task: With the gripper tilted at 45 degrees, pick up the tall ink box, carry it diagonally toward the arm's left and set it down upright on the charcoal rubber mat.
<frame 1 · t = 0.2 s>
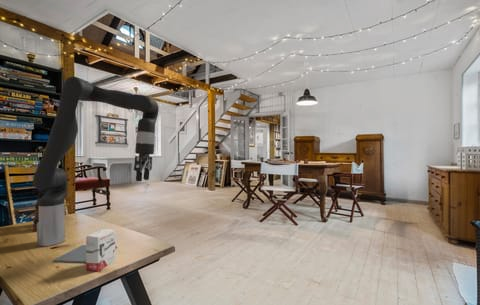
hand: (142, 180, 103), 28 cm above the table, tool pointing down, fingers open, 8 cm apart
ink box: (101, 265, 85), on the table
charcoal mat: (87, 254, 94), on the table
binoculars: (43, 227, 130), on the table
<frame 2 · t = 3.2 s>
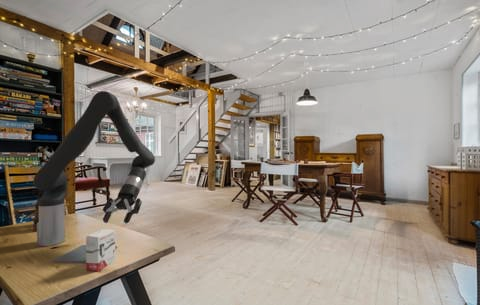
hand: (115, 222, 93), 13 cm above the table, tool tilted 45°, fingers open, 8 cm apart
nothing on the table moved.
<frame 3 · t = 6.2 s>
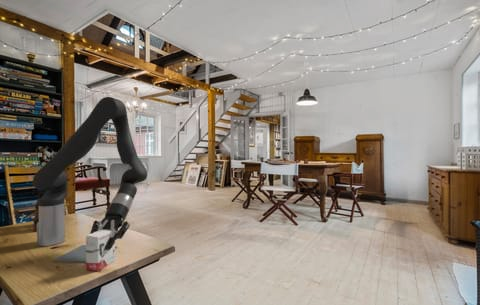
hand: (99, 248, 84), 6 cm above the table, tool tilted 45°, fingers closed on ink box, 5 cm apart
ink box: (101, 265, 85), on the table, touching gripper
everything else where it was.
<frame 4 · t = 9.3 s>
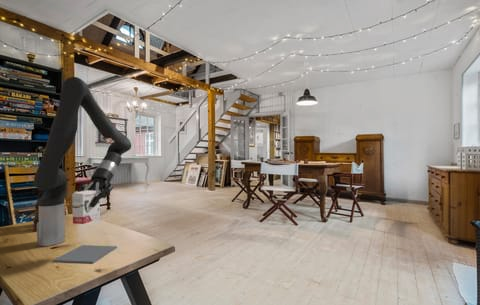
hand: (85, 205, 94), 19 cm above the table, tool tilted 45°, fingers closed on ink box, 5 cm apart
ink box: (87, 221, 95), point 13 cm above the table, touching gripper
everything else where it was.
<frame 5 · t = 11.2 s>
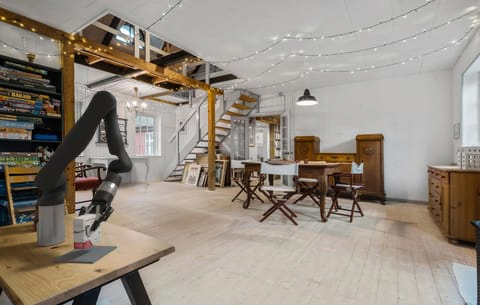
hand: (85, 230, 94), 10 cm above the table, tool tilted 45°, fingers closed on ink box, 5 cm apart
ink box: (87, 245, 95), point 3 cm above the table, touching gripper
everything else where it was.
when the fingers open (8 cm above the table, at t = 12.6 s): ink box drops 1 cm, resting on charcoal mat.
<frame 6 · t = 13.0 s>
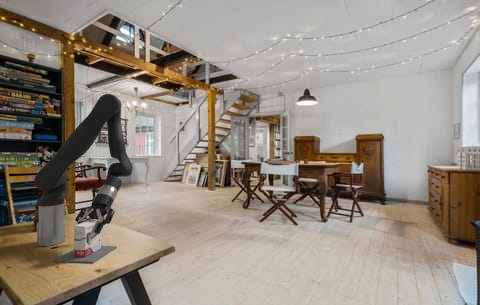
hand: (86, 232, 94), 9 cm above the table, tool tilted 45°, fingers open, 8 cm apart
ink box: (88, 252, 95), resting on charcoal mat
everything else where it was.
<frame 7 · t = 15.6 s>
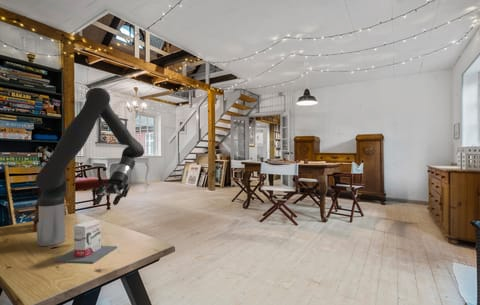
hand: (105, 204, 105), 17 cm above the table, tool tilted 45°, fingers open, 8 cm apart
nothing on the table moved.
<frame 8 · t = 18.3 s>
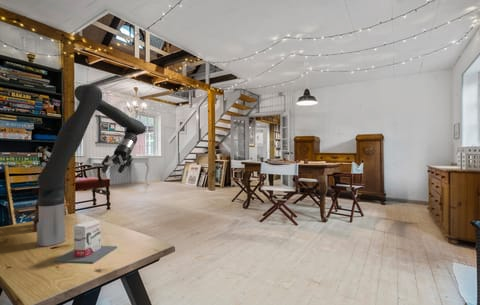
hand: (111, 171, 117), 31 cm above the table, tool tilted 45°, fingers open, 8 cm apart
nothing on the table moved.
at the end: ink box inside the target area on the charcoal mat (0.4 cm from its centre), point 0.4 cm above the charcoal mat's base; ink box tilted 0°; the gripper is holding nothing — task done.
